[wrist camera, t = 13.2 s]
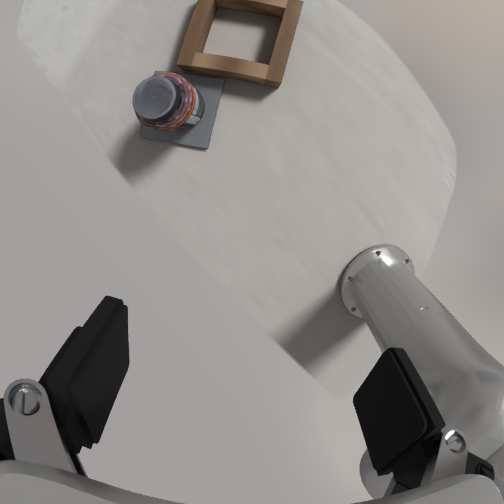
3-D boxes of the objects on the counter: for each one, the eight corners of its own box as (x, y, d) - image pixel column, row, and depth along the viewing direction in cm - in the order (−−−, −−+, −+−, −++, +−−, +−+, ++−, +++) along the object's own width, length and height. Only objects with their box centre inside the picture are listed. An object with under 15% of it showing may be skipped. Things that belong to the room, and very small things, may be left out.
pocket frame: (298, 12, 25) (303, 1, 22) (278, 88, 30) (281, 83, 27) (208, -4, 24) (204, -16, 21) (183, 70, 29) (176, 64, 25)
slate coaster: (224, 80, 29) (224, 79, 29) (208, 148, 33) (207, 148, 32) (156, 71, 29) (155, 70, 28) (141, 137, 32) (139, 137, 31)
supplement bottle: (154, 128, 31) (114, 126, 21) (165, 83, 29) (130, 63, 18) (199, 135, 32) (177, 135, 21) (211, 89, 29) (194, 68, 19)
